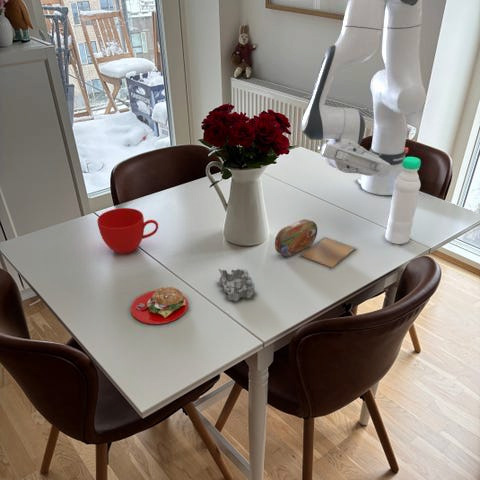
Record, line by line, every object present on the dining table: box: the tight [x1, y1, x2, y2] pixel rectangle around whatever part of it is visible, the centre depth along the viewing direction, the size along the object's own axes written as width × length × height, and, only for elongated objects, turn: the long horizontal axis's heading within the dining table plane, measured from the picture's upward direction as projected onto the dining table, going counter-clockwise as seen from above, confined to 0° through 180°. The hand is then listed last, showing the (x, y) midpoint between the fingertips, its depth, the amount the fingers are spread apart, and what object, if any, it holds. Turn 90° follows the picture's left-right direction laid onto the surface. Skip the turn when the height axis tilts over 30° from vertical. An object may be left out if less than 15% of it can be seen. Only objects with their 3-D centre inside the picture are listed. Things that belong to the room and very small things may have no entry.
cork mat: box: [301, 237, 356, 269], centre depth 145 cm, size 13×10×1 cm
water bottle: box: [384, 156, 422, 245], centre depth 144 cm, size 7×7×25 cm
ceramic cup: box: [96, 207, 159, 255], centre depth 146 cm, size 13×17×10 cm
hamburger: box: [130, 286, 189, 325], centre depth 123 cm, size 14×14×6 cm
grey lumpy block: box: [218, 268, 256, 302], centre depth 129 cm, size 11×8×4 cm
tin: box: [274, 218, 318, 258], centre depth 144 cm, size 15×3×8 cm, turn 129°
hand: (363, 162), depth 135 cm, fingers open, 8 cm apart
